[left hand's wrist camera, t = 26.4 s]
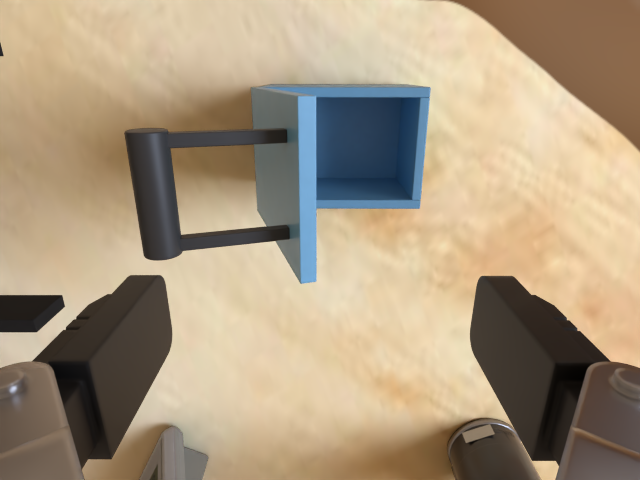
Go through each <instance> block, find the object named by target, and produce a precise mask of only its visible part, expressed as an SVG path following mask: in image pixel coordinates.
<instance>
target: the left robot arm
mask: <svg viewBox="0 0 640 480" xmlns="http://www.w3.org/2000/svg"><path fill="white" fill-rule="evenodd" d="M470 342H471V347H472V351H473V354H474V356H475V358H476V359H477V361H478V363H479V365H480V367H481V368H482V370H483V372H484V374H485V376H486V378H487V379H488V381H489V383H490V385H491V387H492V389H493V390H494V392H495V394H496V396H497V398H498V399H499V401H500V403H501V405H502V407H503V409H504V410H505V412H506V414H507V416H508V418H509V420H510V421H511V423H512V425H513V427H514V428H513V427H512V426H510V425H509V424H507V423H505V422H503V421H500V420H496V419H481V420H476V421H472V422H470V423H467V424H465V425H464V426H462V427H461V428H459V429H458V430H457V431H456V432H455V433H454V434H453V435H452V437H451V438H450V440H449V443H448V447H447V452H448V456H449V459H450V462H451V464H452V471H453V474H454V477H455V480H541V478H540V476H539V474H538V473H537V471H536V469H535V467H534V465H533V463H532V462H531V460H532V461H556V462H557V464H558V465H559V469H558V473H557V476H556V480H640V368H638V367H635V366H632V365H628V364H624V363H618V362H611V361H610V360H609V359H608V358H607V357H606V356H605V355H604V354H603V353H602V352H601V351H600V350H599V349H598V348H597V347H596V346H595V345H593V344H592V343H591V342H590V341H589V340H588V339H587V338H586V337H585V336H584V335H583V334H582V333H581V332H580V331H577V328H576V327H575V326H574V325H573V324H572V323H571V322H570V321H569V320H567V318H566V317H565V316H564V315H563V314H562V313H561V312H560V311H559V310H558V309H557V308H556V307H555V306H554V305H552V304H550V303H549V302H547V301H545V300H543V299H541V298H540V297H538V296H536V295H531V294H530V293H529V292H528V291H527V290H526V289H525V288H524V287H523V286H522V285H521V284H520V283H519V282H518V281H517V279H516V278H514V277H513V276H481V277H480V278H479V280H478V283H477V287H476V294H475V301H474V308H473V314H472V321H471V328H470ZM171 343H172V325H171V319H170V312H169V305H168V298H167V291H166V285H165V281H164V279H163V277H162V276H160V275H130V276H129V277H127V278H126V280H125V281H124V282H123V283H122V284H121V285H120V286H119V287H118V288H117V289H116V290H115V291H114V292H113V293H112V294H107V295H105V296H104V297H102V298H100V299H98V300H96V301H95V302H93V303H91V304H89V305H88V306H87V307H86V308H85V309H84V310H83V311H82V312H81V313H80V314H79V315H78V316H77V317H76V320H73V321H72V322H71V323H70V324H69V325H68V326H67V327H66V330H63V331H62V332H61V333H60V334H59V335H58V336H57V337H56V338H55V339H54V340H53V341H52V342H51V343H50V344H49V345H48V346H47V347H46V348H45V349H44V350H43V351H42V352H41V353H40V354H39V355H38V356H37V357H36V358H35V359H34V360H33V361H32V362H22V363H16V364H12V365H8V366H5V367H2V368H0V480H84V476H83V473H82V468H83V466H84V465H85V463H86V462H87V460H88V459H112V457H113V455H114V453H115V452H116V450H117V448H118V446H119V444H120V442H121V440H122V439H123V437H124V435H125V433H126V431H127V429H128V427H129V426H130V424H131V422H132V420H133V418H134V416H135V415H136V413H137V411H138V409H139V407H140V405H141V403H142V402H143V400H144V398H145V396H146V394H147V392H148V391H149V389H150V387H151V385H152V383H153V381H154V379H155V378H156V376H157V374H158V372H159V370H160V368H161V367H162V365H163V363H164V361H165V359H166V357H167V355H168V353H169V351H170V348H171ZM521 441H522V443H523V445H524V447H525V449H526V450H525V449H524V447H523V445H522V443H521ZM526 451H527V452H528V454H529V456H530V458H531V460H530V458H529V456H528V454H527V452H526Z"/></svg>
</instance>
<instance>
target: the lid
mask: <svg viewBox="0 0 640 480" xmlns="http://www.w3.org/2000/svg"><path fill="white" fill-rule="evenodd" d="M251 99H252V118H253V129H242V130H212V131H183V132H168V130H167V129H163V128H140V129H131V130H127V131H125V140H126V146H127V152H128V159H129V165H130V171H131V177H132V184H133V190H134V196H135V203H136V209H137V215H138V221H139V228H140V234H141V240H142V247H143V253H144V256H145V258H147V259H149V260H167V259H171V258H175V257H177V256H179V255H180V254H181V253H182V251H186V250H195V249H205V248H214V247H223V246H232V245H242V244H251V243H260V242H270V241H276V243H277V244H278V246H279V248H280V250H281V251H282V253H283V255H284V256H285V258H286V260H287V261H288V263H289V265H290V267H291V268H292V270H293V272H294V273H295V275H296V277H297V278H298V280H299V282H300V283H301V284H302V283H309V282H316V96H314V95H308V94H302V93H296V92H289V91H283V90H277V89H271V88H265V87H251ZM231 145H254V156H255V174H256V193H257V211H258V212H259V214H260V216H261V217H262V219H263V221H264V222H265V224H266V226H267V227H257V228H247V229H237V230H226V231H216V232H206V233H196V234H186V235H181V231H180V223H179V215H178V207H177V198H176V190H175V182H174V174H173V166H172V158H171V150H170V148H185V147H208V146H231Z"/></svg>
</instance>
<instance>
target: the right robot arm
mask: <svg viewBox="0 0 640 480" xmlns="http://www.w3.org/2000/svg"><path fill="white" fill-rule="evenodd" d="M0 56H3V52H2V48H1V44H0ZM64 307H65V305H64V301H63V297H62V295H0V332H38V331H39V330H40V329H41V328H42V327H43V326H44V325H45V324H46V323H47V322H48V321H50V320H51V319H52V318H53V317H54V316H55V315H56V314H57V313H58V312H59V311H61V310H62V309H63V308H64Z"/></svg>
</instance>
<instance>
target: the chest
mask: <svg viewBox="0 0 640 480" xmlns="http://www.w3.org/2000/svg"><path fill="white" fill-rule="evenodd" d="M261 87H265V88H271V89H277V90H283V91H289V92H296V93H302V94H308V95H314V96H316V208H367V209H419V208H420V199H421V189H422V178H423V167H424V156H425V144H426V133H427V122H428V111H429V100H430V98H429V97H430V89H431V88H430V87H423V86H415V85H372V84H270V85H266V86H261Z"/></svg>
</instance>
